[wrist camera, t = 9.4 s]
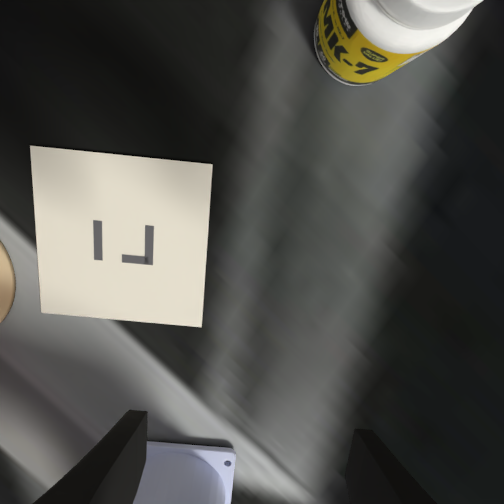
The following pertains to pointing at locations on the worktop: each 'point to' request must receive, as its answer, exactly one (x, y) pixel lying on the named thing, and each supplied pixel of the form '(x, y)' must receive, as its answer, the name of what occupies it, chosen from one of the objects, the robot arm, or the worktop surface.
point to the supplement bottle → (381, 34)
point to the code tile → (121, 235)
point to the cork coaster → (6, 283)
